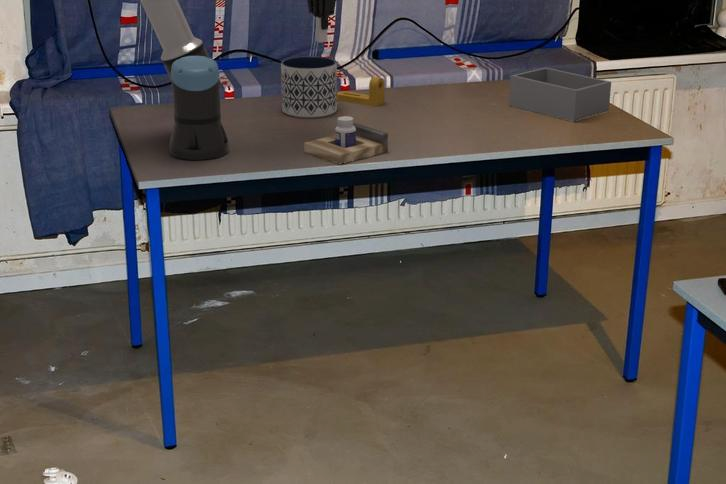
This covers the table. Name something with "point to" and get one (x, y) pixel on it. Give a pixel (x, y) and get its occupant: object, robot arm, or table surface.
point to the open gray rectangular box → (559, 93)
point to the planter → (309, 86)
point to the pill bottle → (345, 132)
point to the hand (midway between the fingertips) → (321, 41)
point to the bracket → (372, 99)
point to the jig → (366, 146)
